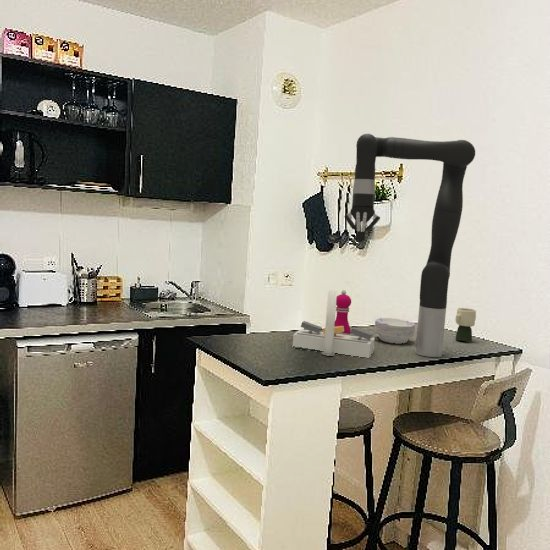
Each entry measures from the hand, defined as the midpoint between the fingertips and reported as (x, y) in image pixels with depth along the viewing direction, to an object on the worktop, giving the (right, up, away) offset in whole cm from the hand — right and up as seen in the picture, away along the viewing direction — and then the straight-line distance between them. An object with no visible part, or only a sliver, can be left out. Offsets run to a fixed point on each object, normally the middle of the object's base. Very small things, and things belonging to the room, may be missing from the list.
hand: (360, 242), depth 198 cm
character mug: (+46, -38, +27) cm, 65 cm away
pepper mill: (-6, -37, +11) cm, 39 cm away
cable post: (-12, -39, -8) cm, 42 cm away
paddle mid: (-10, -32, 0) cm, 33 cm away
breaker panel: (-10, -38, +1) cm, 39 cm away
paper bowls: (+16, -38, +20) cm, 45 cm away
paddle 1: (-18, -31, +2) cm, 36 cm away
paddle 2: (0, -33, -3) cm, 33 cm away
